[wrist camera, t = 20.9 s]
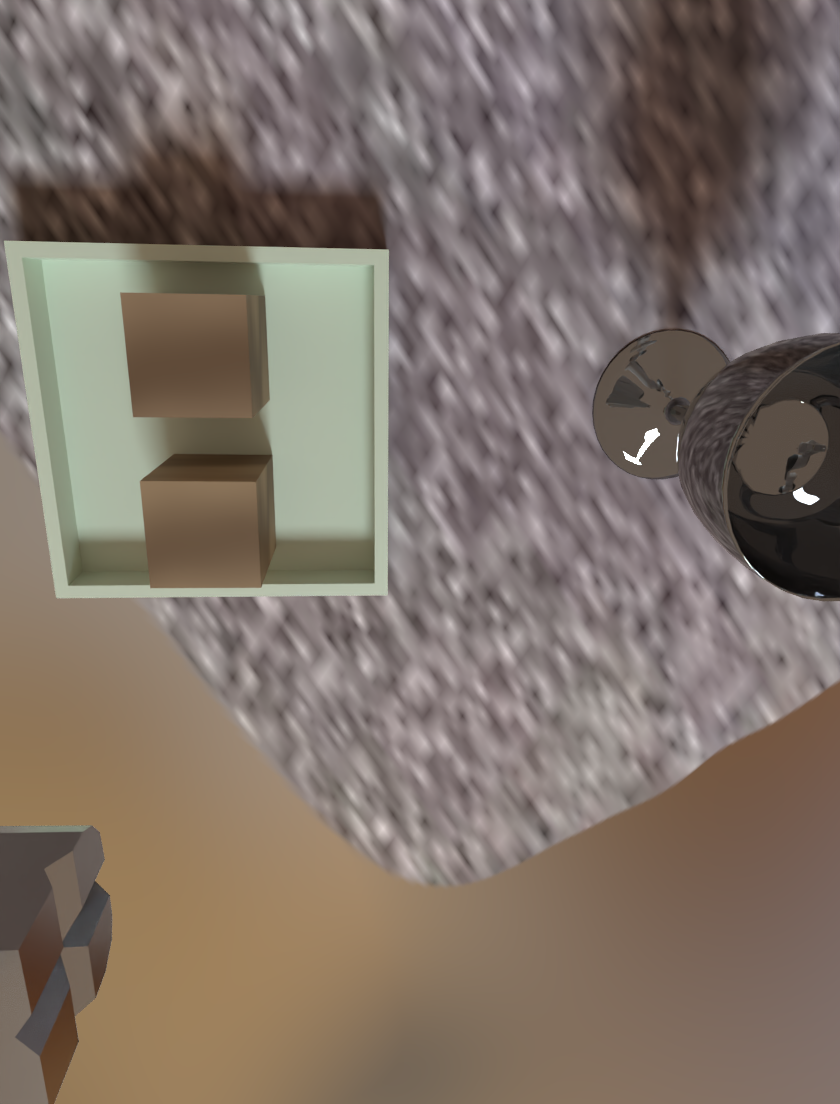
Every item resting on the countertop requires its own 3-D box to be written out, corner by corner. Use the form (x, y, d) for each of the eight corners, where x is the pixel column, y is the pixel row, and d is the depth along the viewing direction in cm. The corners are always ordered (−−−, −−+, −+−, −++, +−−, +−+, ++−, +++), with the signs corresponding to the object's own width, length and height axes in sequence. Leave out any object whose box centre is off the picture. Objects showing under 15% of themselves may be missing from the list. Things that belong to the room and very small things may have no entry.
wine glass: (550, 407, 36) (671, 477, 22) (679, 282, 34) (900, 270, 20) (653, 519, 38) (824, 650, 24) (778, 406, 36) (1040, 474, 22)
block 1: (159, 293, 32) (120, 292, 27) (265, 295, 33) (245, 294, 28) (169, 399, 34) (133, 417, 29) (269, 400, 34) (252, 418, 29)
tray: (30, 245, 32) (3, 240, 30) (387, 253, 33) (388, 249, 31) (76, 578, 37) (56, 598, 34) (386, 576, 38) (387, 595, 36)
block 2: (173, 453, 35) (139, 481, 29) (272, 454, 35) (255, 481, 30) (181, 546, 36) (150, 588, 31) (276, 546, 36) (261, 587, 31)
